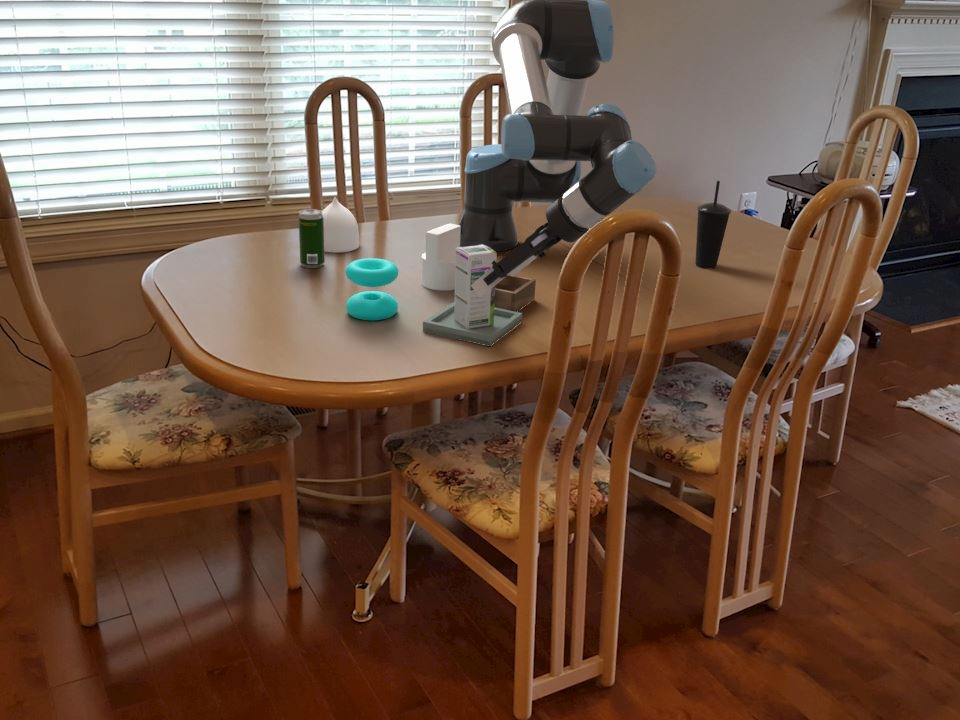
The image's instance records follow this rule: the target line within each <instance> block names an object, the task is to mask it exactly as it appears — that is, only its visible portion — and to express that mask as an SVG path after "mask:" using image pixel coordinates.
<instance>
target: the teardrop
mask: <svg viewBox="0 0 960 720" xmlns="http://www.w3.org/2000/svg"><path fill="white" fill-rule="evenodd" d="M321 211H322V214H323V218H324V253H336V254H337V253H348V252H351V251H354V250H357V249H358V248H359V247H360V233H359V224H358V222H357V218H356V217H355V216H354V214H353V213H352V212H351V211H350V210H349V209H348V208H347V207H345V206H344V205H342V203H340V202H339V200H338V199H337V197H336V196H334V197H333V200H332V201H331V202H330V203H329V205H327V206H326V207H325V208H324V209H323V210H321Z"/></svg>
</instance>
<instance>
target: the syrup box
mask: <svg viewBox="0 0 960 720" xmlns="http://www.w3.org/2000/svg"><path fill="white" fill-rule="evenodd" d="M494 260H495V262H496V263H497V251H494V250H493V249H491V248H490V247H488V246H485V245H483V244H482V245H477V246H468V247H461V246H460V247H457V248H456V254H455V289H454V302H455V306H454V319H455V320H456V321H457V322H458V323H459V324H461V325H462V326H463V327H465V328H466V329H471V328H476V327H483V326H491V325H493V324H494V304H495V286H494V287H493V288H491V289H490V290H489V291H488V292H486V293H485V294H484V295H483V296H481V297H479V296H478V295H477V293H476V292H475V291H474V289H473V288H472V287H471V285H472V284H473V283H474V282H475V281H476V280H478V279H479V278H480V277H481V276H482V275H484V274H485V273H486V272H487V271H488V270H490V269H491V268H492V266H493V264H492V262H493V261H494Z"/></svg>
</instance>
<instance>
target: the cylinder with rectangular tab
mask: <svg viewBox="0 0 960 720" xmlns="http://www.w3.org/2000/svg"><path fill="white" fill-rule="evenodd" d="M460 230H461V226H460V225H459V224H455V223H450V222H449V223H446V224H444V225H441V226H438V227H435V228H433V229H431V230H428V231H426V232H425V252H424V253H422V254H421V261H420V262H421V267H420V268H421V269H420V274H421V276H420V277H421V278H420V284H421V286H422V287H424V288H427V289H430V290H433V291H434V290H435V291H453V290H454V291H455V254H456V248H457V247H461V246H460Z"/></svg>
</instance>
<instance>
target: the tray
mask: <svg viewBox="0 0 960 720" xmlns="http://www.w3.org/2000/svg"><path fill="white" fill-rule="evenodd" d="M454 306H455V301H453V302H452V303H450V304H448V305H447V306H445V307H444V308H442V309H440V310H439V311H438V312H435V313H434V314H432V315H431V316H429V317H428V318H426V319H424V320H423V321H422V332H424V333H428V334H432V335H437V336H441V337H445V338H449V337H450V339H453V338H455V339H454V340H457V339H461V340H460V341H462V340H465V341H464V342H466V341H471V342H476V343H480V344H485V345H489V346H491V345H492V344H493V343H495V342H496V341H497V340H498V339H500V338H501V337H502V336H504V335H505V334H506V333H508V332H509V331H510V330H512V329H513V328H514V327H515V326H516V325H518V324H519V323H520V322H521V321H522V322H523V312H520V311H519V312H514V311H509V310H505V309H500V308H495V307H494V324H493V325H491V326H483V327H476V328H471V329H466V328H465V327H463V326H462V325H461V324H459V323H458V322H457V321H456V320H455V319H454ZM518 326H519V325H518ZM513 330H514V329H513ZM513 330H512V331H513ZM509 333H510V332H509ZM509 333H508V334H509ZM504 337H505V336H504ZM500 340H501V339H500ZM496 343H497V342H496ZM496 343H495V344H496ZM491 347H492V346H491Z"/></svg>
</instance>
